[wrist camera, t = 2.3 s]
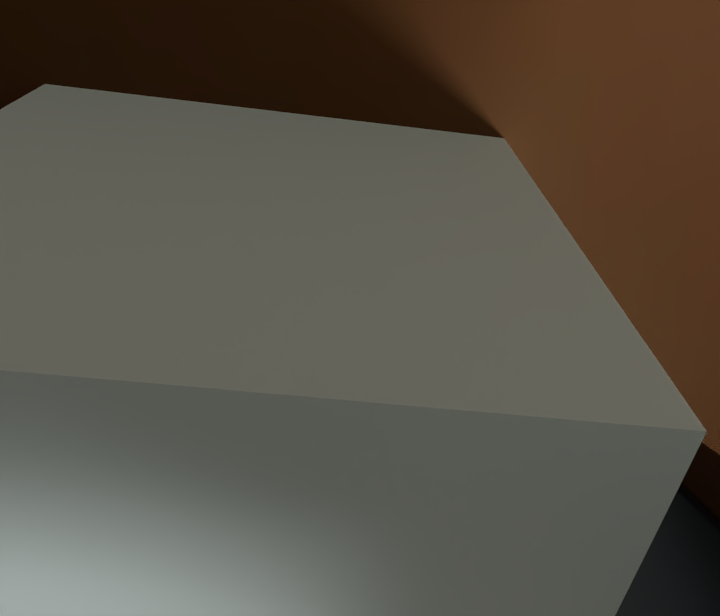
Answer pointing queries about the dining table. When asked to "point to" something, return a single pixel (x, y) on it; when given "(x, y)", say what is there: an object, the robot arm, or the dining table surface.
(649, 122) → the dining table surface
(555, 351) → the light gray cube
